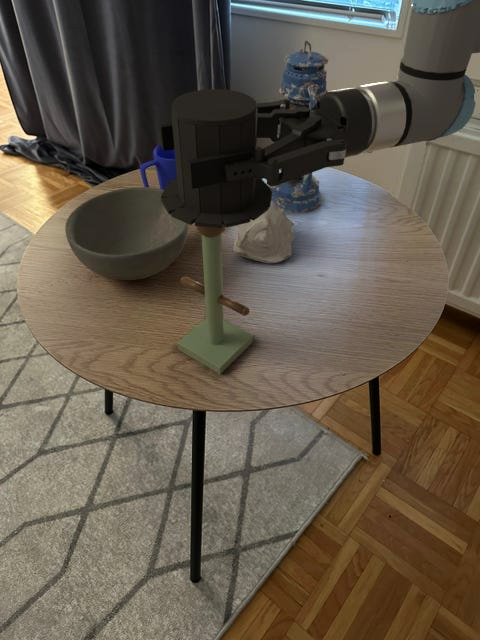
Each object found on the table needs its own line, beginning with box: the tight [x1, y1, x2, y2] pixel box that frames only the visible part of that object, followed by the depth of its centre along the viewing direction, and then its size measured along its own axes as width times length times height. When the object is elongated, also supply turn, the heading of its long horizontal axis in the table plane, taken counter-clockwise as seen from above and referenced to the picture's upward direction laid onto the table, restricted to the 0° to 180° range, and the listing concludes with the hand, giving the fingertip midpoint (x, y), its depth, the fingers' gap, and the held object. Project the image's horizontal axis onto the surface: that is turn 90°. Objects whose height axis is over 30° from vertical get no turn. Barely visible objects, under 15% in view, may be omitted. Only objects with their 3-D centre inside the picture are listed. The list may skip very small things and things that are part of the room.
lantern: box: [268, 40, 329, 214], centre depth 94 cm, size 15×12×30 cm
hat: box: [161, 88, 272, 229], centre depth 53 cm, size 13×13×11 cm
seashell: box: [232, 201, 296, 264], centre depth 88 cm, size 12×14×10 cm
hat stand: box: [177, 224, 254, 375], centre depth 65 cm, size 12×8×23 cm
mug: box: [139, 144, 177, 190], centre depth 100 cm, size 8×12×10 cm
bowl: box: [64, 186, 190, 281], centre depth 83 cm, size 20×20×10 cm
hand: (175, 155), depth 51 cm, fingers closed on hat, 9 cm apart
